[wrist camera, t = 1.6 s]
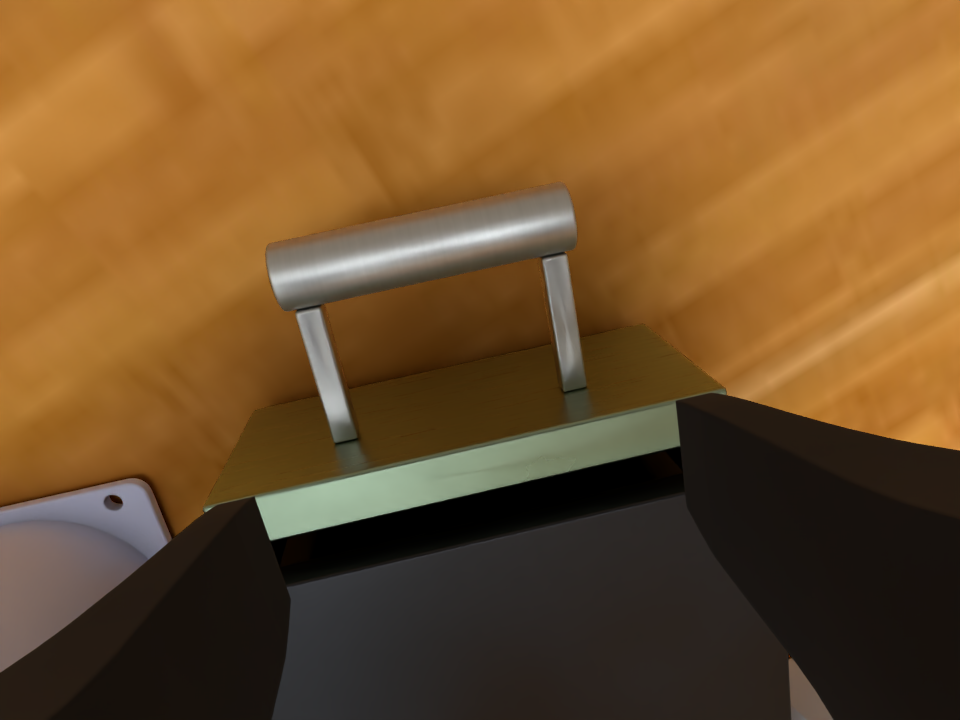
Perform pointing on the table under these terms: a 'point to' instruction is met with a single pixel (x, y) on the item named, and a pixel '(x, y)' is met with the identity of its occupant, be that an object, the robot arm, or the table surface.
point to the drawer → (452, 392)
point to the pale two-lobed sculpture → (804, 697)
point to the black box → (533, 621)
